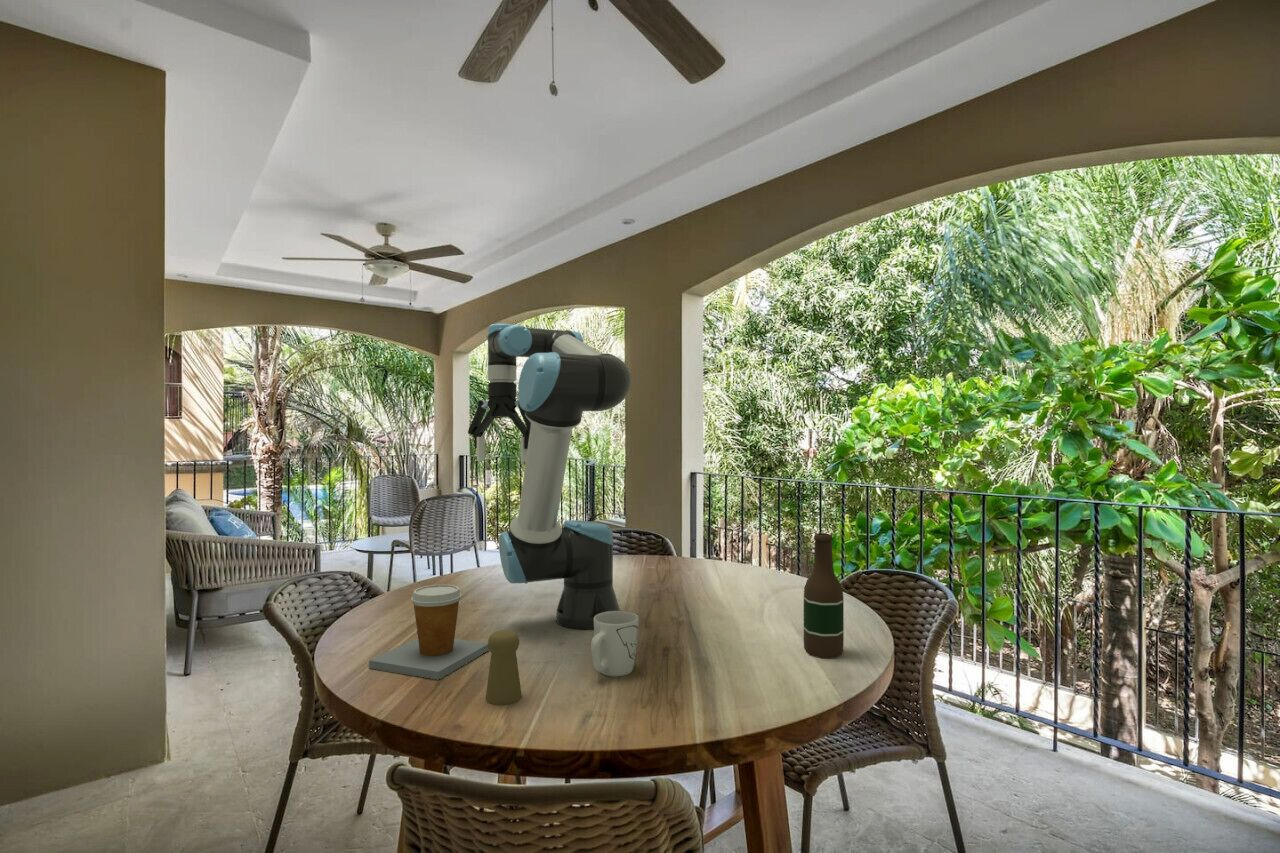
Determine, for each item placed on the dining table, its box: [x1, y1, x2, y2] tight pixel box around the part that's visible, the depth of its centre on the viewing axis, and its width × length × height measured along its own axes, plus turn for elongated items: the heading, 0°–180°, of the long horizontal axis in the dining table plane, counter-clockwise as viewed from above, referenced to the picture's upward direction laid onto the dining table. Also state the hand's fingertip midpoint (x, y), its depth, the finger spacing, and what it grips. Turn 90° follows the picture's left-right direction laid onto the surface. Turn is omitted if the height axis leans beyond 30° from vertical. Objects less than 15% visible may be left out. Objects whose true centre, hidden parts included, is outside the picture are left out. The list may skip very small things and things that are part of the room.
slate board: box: [368, 637, 489, 681], centre depth 124 cm, size 16×16×2 cm
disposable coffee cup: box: [410, 584, 462, 656], centre depth 125 cm, size 10×10×12 cm
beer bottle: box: [803, 532, 845, 659], centre depth 128 cm, size 8×8×24 cm
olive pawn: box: [485, 629, 523, 706], centre depth 107 cm, size 6×6×11 cm
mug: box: [590, 610, 640, 678], centre depth 117 cm, size 11×8×10 cm
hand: (502, 461), depth 169 cm, fingers open, 13 cm apart
